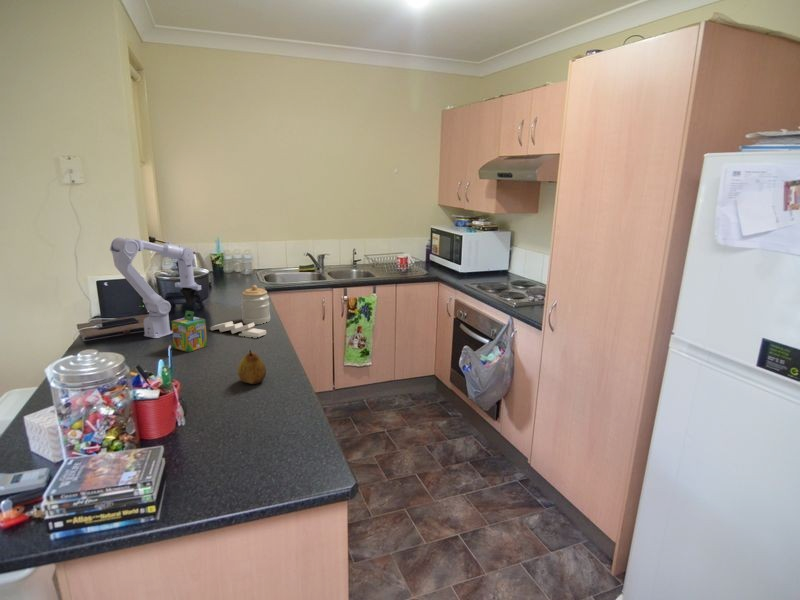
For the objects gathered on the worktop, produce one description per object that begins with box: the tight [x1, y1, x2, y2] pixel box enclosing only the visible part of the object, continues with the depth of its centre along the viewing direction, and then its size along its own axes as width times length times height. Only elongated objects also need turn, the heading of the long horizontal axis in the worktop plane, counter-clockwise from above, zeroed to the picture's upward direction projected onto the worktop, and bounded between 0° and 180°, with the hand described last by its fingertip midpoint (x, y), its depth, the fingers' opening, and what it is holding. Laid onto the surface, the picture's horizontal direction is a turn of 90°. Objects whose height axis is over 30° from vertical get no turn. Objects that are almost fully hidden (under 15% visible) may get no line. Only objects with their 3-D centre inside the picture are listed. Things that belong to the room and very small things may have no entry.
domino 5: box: [241, 327, 267, 338], centre depth 202 cm, size 2×5×9 cm
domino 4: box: [238, 332, 257, 339], centre depth 202 cm, size 2×5×9 cm
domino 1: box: [209, 320, 234, 331], centre depth 208 cm, size 2×5×9 cm
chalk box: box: [170, 310, 208, 353], centre depth 185 cm, size 9×9×15 cm
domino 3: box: [230, 322, 255, 335], centre depth 204 cm, size 2×5×9 cm
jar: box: [240, 284, 271, 325], centre depth 221 cm, size 13×13×18 cm
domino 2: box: [218, 321, 244, 333], centre depth 206 cm, size 2×5×9 cm
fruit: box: [237, 349, 267, 385], centre depth 154 cm, size 9×9×12 cm
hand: (190, 304), depth 211 cm, fingers closed
